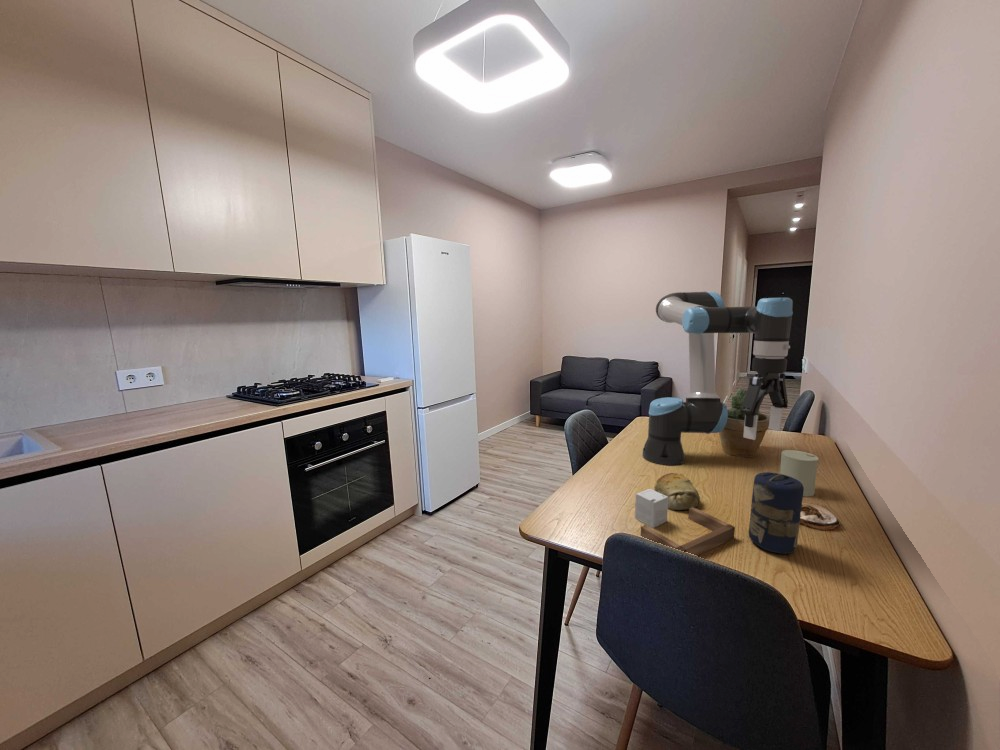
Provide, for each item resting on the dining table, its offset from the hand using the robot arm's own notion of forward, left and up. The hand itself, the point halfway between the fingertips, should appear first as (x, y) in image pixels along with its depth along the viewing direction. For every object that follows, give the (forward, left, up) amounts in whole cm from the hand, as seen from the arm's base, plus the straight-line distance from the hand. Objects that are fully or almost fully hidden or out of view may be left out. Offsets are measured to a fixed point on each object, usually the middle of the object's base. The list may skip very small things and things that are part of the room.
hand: (762, 434), depth 103 cm
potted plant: (-29, +43, -23) cm, 56 cm away
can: (-1, +25, -23) cm, 34 cm away
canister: (+11, -13, -23) cm, 29 cm away
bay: (-1, -28, -22) cm, 36 cm away
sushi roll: (+9, +9, -23) cm, 26 cm away
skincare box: (-11, -29, -23) cm, 39 cm away
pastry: (-15, -14, -23) cm, 31 cm away
